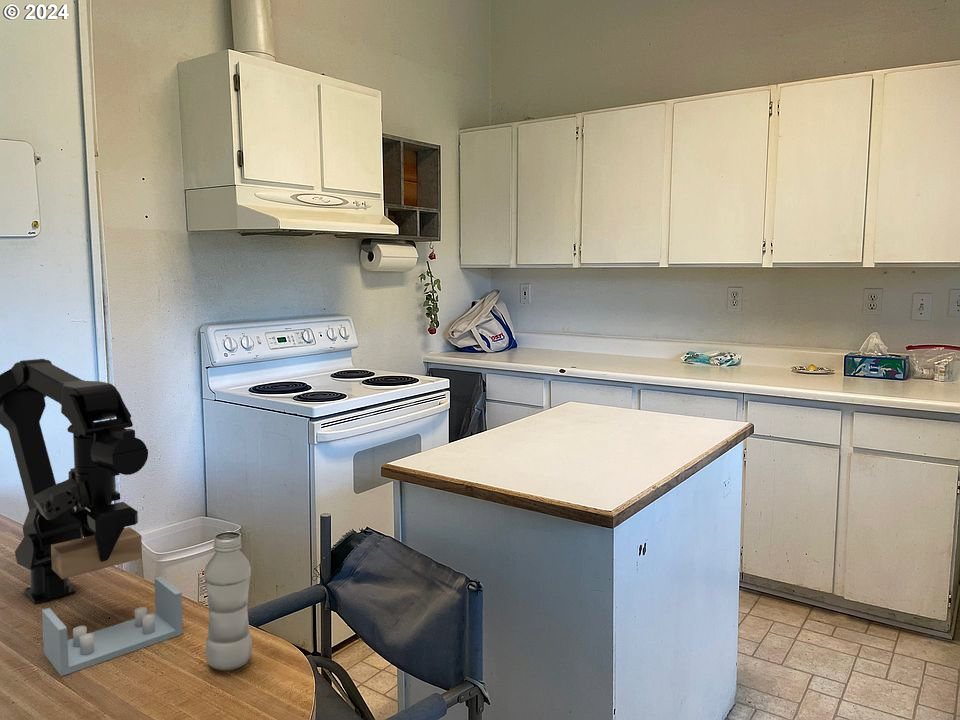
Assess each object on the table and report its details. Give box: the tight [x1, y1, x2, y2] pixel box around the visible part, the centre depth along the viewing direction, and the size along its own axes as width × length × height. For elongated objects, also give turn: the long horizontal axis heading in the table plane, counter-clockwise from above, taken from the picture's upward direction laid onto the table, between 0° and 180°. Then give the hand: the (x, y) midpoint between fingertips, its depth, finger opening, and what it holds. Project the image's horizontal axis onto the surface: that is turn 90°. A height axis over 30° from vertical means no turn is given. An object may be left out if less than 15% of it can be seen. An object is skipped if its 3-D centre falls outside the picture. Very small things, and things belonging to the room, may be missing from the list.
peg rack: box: [41, 575, 184, 677], centre depth 111 cm, size 8×18×7 cm, turn 136°
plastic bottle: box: [203, 530, 253, 672], centre depth 106 cm, size 6×7×20 cm
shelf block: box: [51, 526, 143, 579], centre depth 117 cm, size 5×12×4 cm, turn 136°
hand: (98, 555), depth 117 cm, fingers closed on shelf block, 5 cm apart
